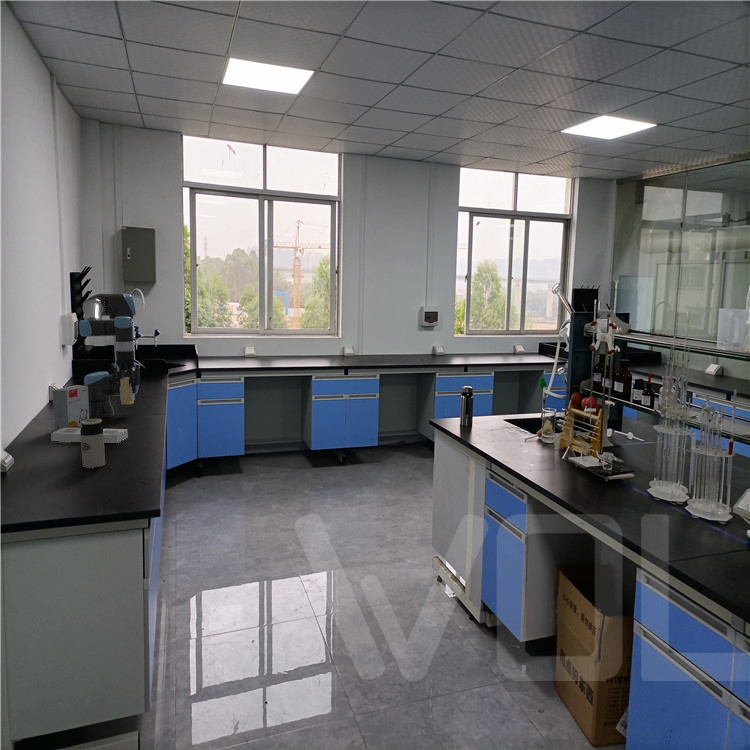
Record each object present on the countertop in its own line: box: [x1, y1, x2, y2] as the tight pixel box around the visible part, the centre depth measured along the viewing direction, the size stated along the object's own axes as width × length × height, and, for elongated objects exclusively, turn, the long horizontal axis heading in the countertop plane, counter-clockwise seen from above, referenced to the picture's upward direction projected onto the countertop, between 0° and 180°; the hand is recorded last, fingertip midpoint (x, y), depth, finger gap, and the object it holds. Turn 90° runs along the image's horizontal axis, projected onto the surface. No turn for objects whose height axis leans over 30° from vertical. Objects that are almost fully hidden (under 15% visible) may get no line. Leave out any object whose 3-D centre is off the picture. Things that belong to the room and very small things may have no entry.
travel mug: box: [80, 419, 106, 469], centre depth 221 cm, size 8×8×18 cm
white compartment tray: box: [50, 427, 129, 444], centre depth 258 cm, size 10×30×4 cm, turn 87°
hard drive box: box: [52, 384, 89, 432], centre depth 277 cm, size 16×8×20 cm, turn 168°
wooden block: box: [120, 377, 135, 405], centre depth 265 cm, size 4×4×12 cm
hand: (127, 399), depth 266 cm, fingers closed on wooden block, 4 cm apart
